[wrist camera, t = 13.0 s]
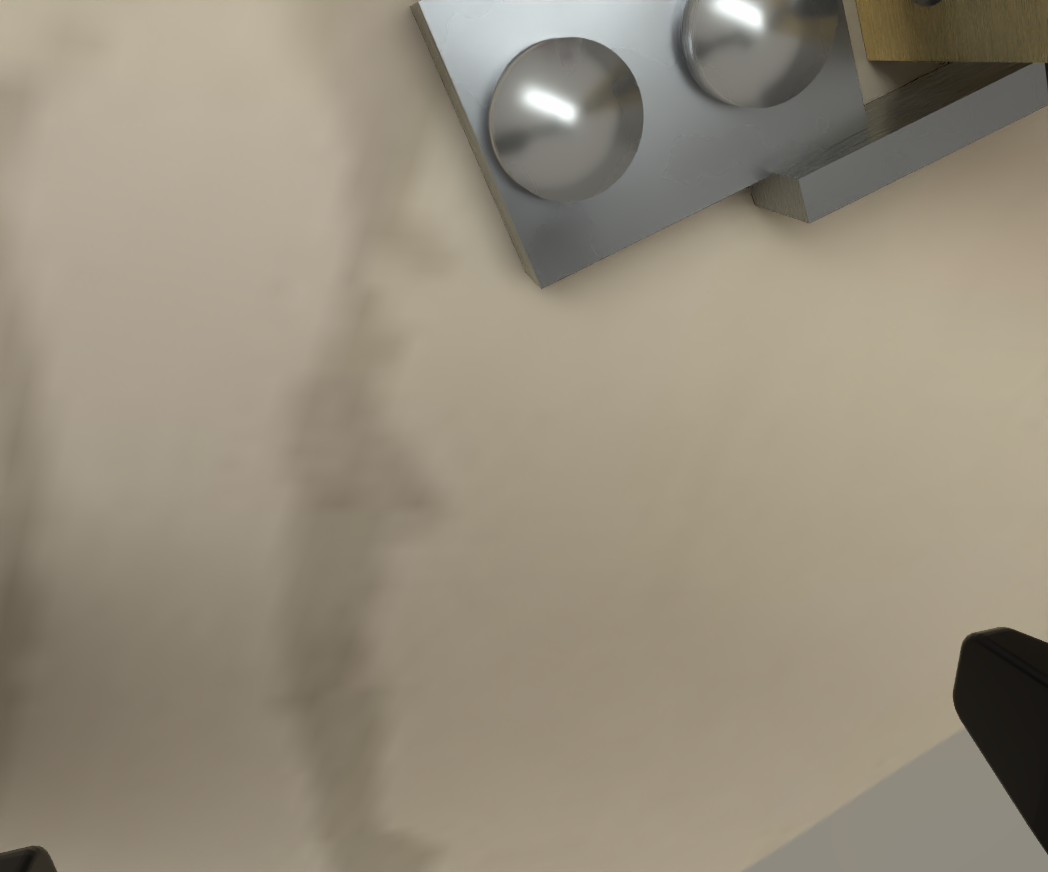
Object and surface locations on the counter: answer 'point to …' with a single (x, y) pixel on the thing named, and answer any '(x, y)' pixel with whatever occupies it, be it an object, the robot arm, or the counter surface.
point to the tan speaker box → (955, 30)
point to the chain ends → (687, 113)
